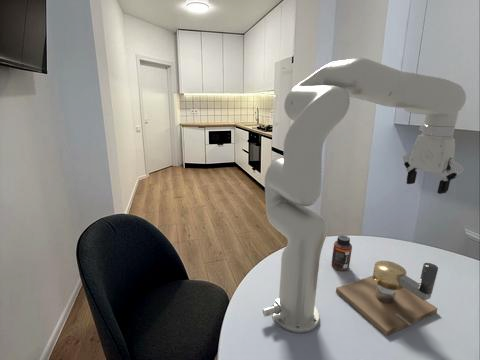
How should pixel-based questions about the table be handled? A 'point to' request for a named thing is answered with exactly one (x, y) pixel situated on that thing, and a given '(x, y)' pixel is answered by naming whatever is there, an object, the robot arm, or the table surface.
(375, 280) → the brass hub lever
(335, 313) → the table surface
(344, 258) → the supplement bottle
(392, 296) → the steel post
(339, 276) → the table surface
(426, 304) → the walnut base
